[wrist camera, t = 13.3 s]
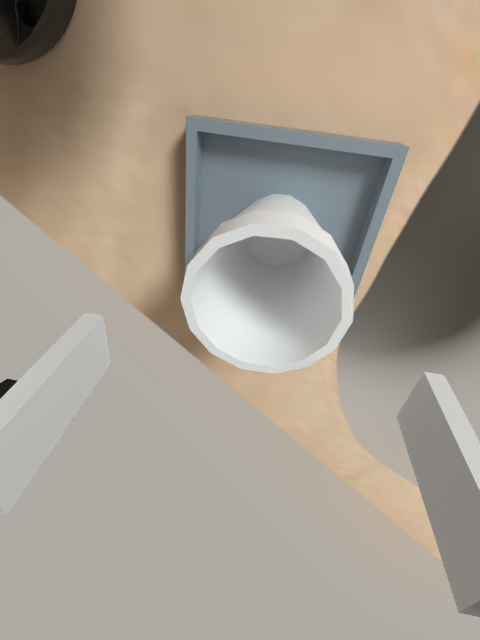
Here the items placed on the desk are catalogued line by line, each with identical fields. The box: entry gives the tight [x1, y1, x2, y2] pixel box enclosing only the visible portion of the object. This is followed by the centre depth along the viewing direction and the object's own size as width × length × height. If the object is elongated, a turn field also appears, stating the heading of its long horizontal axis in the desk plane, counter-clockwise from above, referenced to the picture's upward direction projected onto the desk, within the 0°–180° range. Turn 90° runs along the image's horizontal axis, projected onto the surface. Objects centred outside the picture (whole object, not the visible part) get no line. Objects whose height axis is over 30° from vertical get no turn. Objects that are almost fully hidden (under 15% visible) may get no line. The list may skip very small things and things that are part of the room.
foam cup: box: [180, 194, 354, 374], centre depth 23 cm, size 10×9×13 cm
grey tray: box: [185, 115, 409, 297], centre depth 28 cm, size 16×16×3 cm
